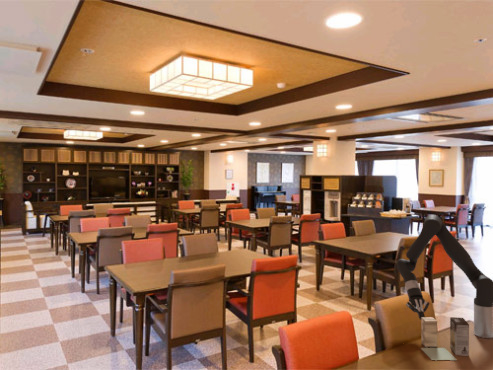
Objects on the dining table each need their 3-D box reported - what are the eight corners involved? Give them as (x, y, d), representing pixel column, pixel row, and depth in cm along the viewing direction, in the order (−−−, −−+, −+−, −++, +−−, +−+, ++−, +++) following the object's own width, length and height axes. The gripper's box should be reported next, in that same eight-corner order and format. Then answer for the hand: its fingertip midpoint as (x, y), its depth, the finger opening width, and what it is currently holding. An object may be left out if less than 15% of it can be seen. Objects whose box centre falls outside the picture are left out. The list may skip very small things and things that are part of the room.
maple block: (421, 343, 202) (421, 317, 201) (432, 343, 201) (432, 317, 201) (425, 347, 197) (425, 321, 196) (437, 347, 196) (437, 320, 196)
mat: (420, 348, 196) (420, 347, 196) (444, 348, 195) (444, 347, 195) (432, 360, 183) (432, 359, 183) (457, 360, 182) (457, 359, 182)
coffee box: (449, 347, 197) (449, 316, 196) (463, 348, 195) (463, 317, 195) (455, 355, 188) (455, 323, 187) (469, 356, 186) (469, 324, 186)
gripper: (403, 286, 216) (412, 316, 204) (427, 287, 215) (437, 316, 203) (400, 293, 221) (408, 321, 209) (422, 293, 221) (432, 322, 209)
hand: (422, 319), depth 206 cm, fingers closed
